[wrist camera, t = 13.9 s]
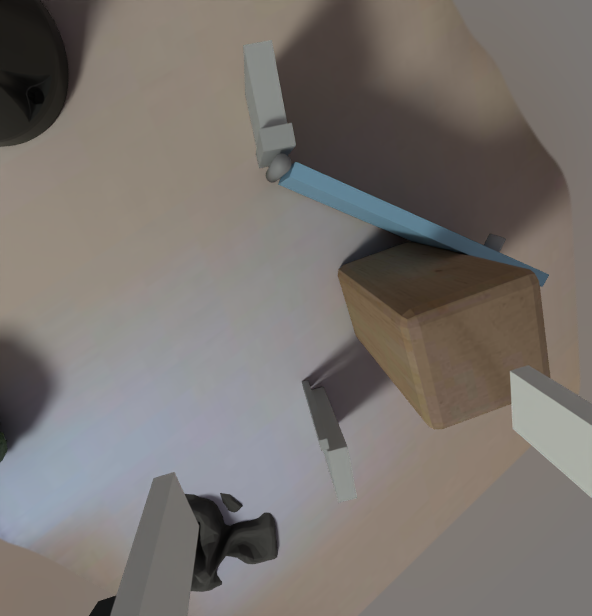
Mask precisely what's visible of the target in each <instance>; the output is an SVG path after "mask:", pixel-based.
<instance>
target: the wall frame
mask: <svg viewBox="0 0 592 616" xmlns="http://www.w3.org/2000/svg"><path fill="white" fill-rule="evenodd" d="M243 48H244V73H245V96H246V100H247V105H248V110H249V114H250V119H251V124H252V128H253V133H254V138H255V142H256V147H257V149H256V156H257V161H258V165H259V168H263V167H268V166H270V165H271V163H272V161H273V159H274V158H275V156H276V155H278V154H286V155H287V156H288V155H289V153H290V152H291V151H292V150H293V148H294V147H295V146H296V143H295V137H294V132H293V126H292V123H288V124H287V120H286V114H285V109H284V104H283V98H282V93H281V88H280V82H279V77H278V71H277V66H276V61H275V55H274V50H273V45H272V40H270V41H264V42H259V43H253V44H248V45H243ZM302 384H303V389H304V393H305V396H306V400H307V403H308V406H309V410H310V413H311V417H312V420H313V424H314V427H315V431H316V434H317V438H318V441H319V445H320V448H321V451H322V450H323V453H324V456H325V459H326V463H327V466H328V469H329V473H330V476H331V480H332V483H333V486H334V490H335V493H336V497H337V500H338V503H339V502H343V501H347V500H351V499H355V498H357V495H356V490H355V485H354V479H353V474H352V468H351V463H350V458H349V452H348V447H347V444H346V442H345V439H344V437H343V434H342V432H341V429H340V427H339V424H338V422H337V419H336V417H335V414H334V412H333V409H332V407H331V404H330V402H329V399H328V397H327V394H326V392H325V389H324V387H321V388H317V389H313V390H311V388H310V385H309V382H308V380H306V381H302Z"/></svg>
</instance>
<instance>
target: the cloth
mask: <svg viewBox="0 0 592 616" xmlns="http://www.w3.org/2000/svg"><path fill="white" fill-rule="evenodd" d="M220 494H221V497H222V501H223V503H224V504H225V506H226V507H227V508H228V510H229V511H231V512H237V511H238V510H239V509H240V508H241V507H242V505H241V504H240V503H239V502H238V501H236V499H235V498H234V497H232V496H231V495H230V494H223V493H220ZM185 496H186V499H187V501H188V503H189V505H190V507H191V509H192V512H193V514H194V516H195V518H196V520H197V522H198V525H199V532H198V539H197V547H196V554H195V562H194V569H193V576H192V584H191V591H200V592H203V591H209V590H212V589H213V588H215V587H217V586H220V585H222V581H221V580H220V579H219V577H218V576H217V571H216V568H217V567H218V566H219V564H220V563H221V562H222V560H223V559H224V558H225V556H231V557H237V558H238V559H240V560H242V561H243V562H245V563H247V564H257V563H261V562H264V561H267V560H272V559H275V558H276V557H277V541H276V531H275V521H274V518H273V517H272V515H271V514H270V513H264V514H263V515H261V516H260V517H259V518H257V519H254V520H251V521H246V522H240V523H236V524H233V525H231V526H229V525H225V523H224V520H223V516H222V514H221V512H220V510H219V508H218V506H217V505H216V504H215V503H214V502H213V501H210V500H209V499H205V498H199V497H198V496H196V495H192V494H185Z"/></svg>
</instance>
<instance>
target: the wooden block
mask: <svg viewBox="0 0 592 616" xmlns="http://www.w3.org/2000/svg"><path fill="white" fill-rule="evenodd" d="M338 277H339V281H340V284H341V287H342V291H343V294H344V297H345V301H346V304H347V307H348V311H349V314H350V317H351V321H352V324H353V327H354V331H355V334H356V336H357V338H358V339H359V340H360V341H361V343H362V344H363V345H364V346H365V348H366V349H367V350H368V351H369V353H370V354H371V355H372V356H373V358H374V359H375V360H376V361H377V363H378V364H379V365H380V366H381V368H382V369H383V370H384V371H385V373H386V374H387V375H388V376H389V378H390V379H391V380H392V381H393V383H394V384H395V385H396V386H397V388H398V389H399V390H400V391H401V393H402V394H403V395H404V396H405V398H406V399H407V400H408V401H409V403H410V404H411V405H412V406H413V408H414V409H415V410H416V411H417V413H418V414H419V415H420V416H421V418H422V419H423V420H424V421H425V422H426V424H427V425H428V426H429V427H431V428H433V429H444V428H447V427H450V426H452V425H455V424H458V423H461V422H463V421H466V420H469V419H471V418H474V417H477V416H480V415H482V414H485V413H488V412H490V411H493V410H496V409H498V408H501V407H504V406H507V405H509V404H512V403H511V383H510V371H511V370H514V369H518V368H521V367H524V366H528V365H529V366H530V367H532V368H534V369H535V370H537V371H539V372H540V373H542V374H544V375H545V376H547V377H549V378H550V371H549V362H548V353H547V345H546V336H545V328H544V319H543V310H542V302H541V293H540V285H539V280H538V278H537V276H536V275H535V273H534V272H532V271H531V270H530V269H526V268H522V267H517V266H513V265H509V264H505V263H501V262H496V261H492V260H488V259H484V258H479V257H475V256H471V255H467V254H462V253H458V252H454V251H450V250H445V249H441V248H437V247H433V246H429V245H424V244H420V243H416V242H406V243H403V244H401V245H398V246H395V247H392V248H389V249H387V250H384V251H381V252H378V253H375V254H373V255H370V256H367V257H364V258H361V259H358V260H356V261H353V262H350V263H347V264H344V265H343V266H342V267H341V268H339V271H338Z"/></svg>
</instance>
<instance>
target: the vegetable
mask: <svg viewBox="0 0 592 616" xmlns="http://www.w3.org/2000/svg"><path fill="white" fill-rule="evenodd" d="M6 452H7V440H5V438H4V433H2V432H0V462H1V461H2V460H3V458H4V456H5V454H6Z"/></svg>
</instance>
